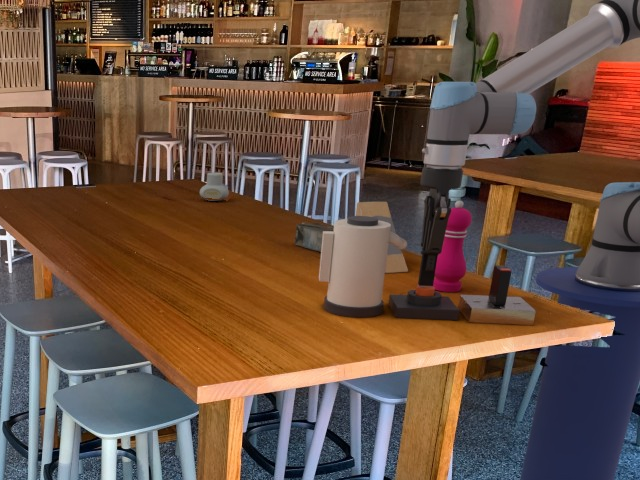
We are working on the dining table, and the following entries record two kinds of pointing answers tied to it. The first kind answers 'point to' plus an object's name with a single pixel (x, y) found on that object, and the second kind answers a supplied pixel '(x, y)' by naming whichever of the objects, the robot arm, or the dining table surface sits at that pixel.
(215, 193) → the air freshener
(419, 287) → the red push button
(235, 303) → the dining table surface
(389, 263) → the sandwich container
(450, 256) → the pepper mill
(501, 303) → the black switch lever
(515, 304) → the lever switch base
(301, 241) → the beverage carton
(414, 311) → the push button box
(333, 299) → the kettle
